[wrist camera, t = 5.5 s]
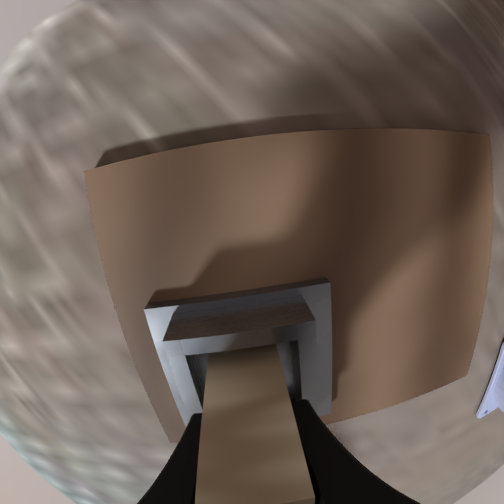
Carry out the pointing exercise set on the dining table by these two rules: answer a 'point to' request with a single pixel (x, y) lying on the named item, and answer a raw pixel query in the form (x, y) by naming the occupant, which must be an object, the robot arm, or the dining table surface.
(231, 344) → the grey square socket
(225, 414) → the tan wooden block
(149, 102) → the dining table surface
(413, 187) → the walnut board
